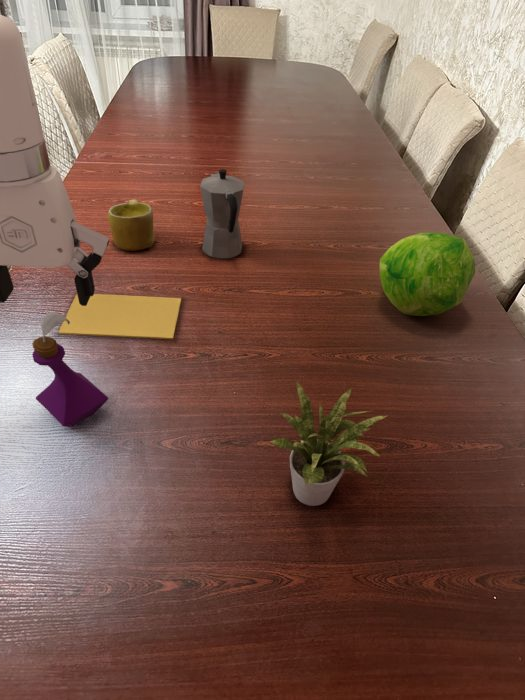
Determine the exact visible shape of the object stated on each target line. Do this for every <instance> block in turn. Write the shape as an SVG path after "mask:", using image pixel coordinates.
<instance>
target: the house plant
mask: <svg viewBox="0 0 525 700" xmlns="http://www.w3.org/2000/svg"><path fill="white" fill-rule="evenodd" d="M295 384H296V390H297V396H298V403H299V407H300V414H301V415H300V416H301V417H300V416H298V415H296V414H295V415H294V417H292V416H291V415H289V414H288V413H285V412H282V411H278V413H279V414H280V415H281V416H282V417H283V418H285V419H286V421H287V422H288V424H289V425H290V426H291V427H292V428H293V429H294V430H295V431H296V432H297V434H298V436H299V438H300V441H294V440H291V439H289V438H286V437H278V438H275V439H273V440H270V441H269V443H271V445H273V446H275V447H277V448H278V449H279V448H280V449H284V450H289V451H290V454H289V468H290V475H291V484H292V490H293V495H294V496H295V498H296V500H298V501H299V502H300V503H302V504H304V505H306V506H311V507H316V506H321V505H323V504H324V503H326V502H327V501H328V500H329V498H330V496H331V495H332V493H333V491H334V489H335V488H336V486H337V484H338V483H339V482H340V479H341V478H342V476H343V474H344V472H345V470H349V471H354V472H358V473H359V474H361V475H363V476H365V477H367V478H369V476H368V474H367V473H368V470H367V467H366V464H365V462H364V461H363V459H362V458H360V457H359V456H356V455H354V454H350V453H342V452H341V450H343V449H346V448H347V449H348V448H349V449H351V448H352V449H356V450H362V451H367V452H369V453H371V454H372V455H374V456H376V457H377V456H378V457H380V458H382V456H381V455H380V454H379V453H378V452H377V451H376V450H374V449H373V448H372V447H370V446H369V445H368V444H366V443H363V442H360V441H358V440H359V439H360V438H361V437H362V436H364V433H363V432H367V431H369V430H371V429H372V428H371V427H372V426H373V427H374V426H376V425H378V424H379V422H378V421H381V420H383V419H386V418H387V417H388V416H390V414H385V415H384V414H383V415H377V416H376V415H375V416H373V417H372V416H371V417H369V418H367V419H364V420H362V421H360V422H358V423H356V422H354V421H352V420H351V419H343V418H344V417H347V416H353V415H354V416H355V415H358V414H359V415H360V414H364V413H369V412H373V411H374V410H365V411H352V412H347V413H346V411H347V403H348V400H349V398H350V396H351V393H352V389H353V387H351V388H349V389H347V390H346V391H345V392H344V393H342V395H341V396H339V398H338V400H337V401H336V402H335V404H334V406H333V407H332V409H331V410H330V412H329V413H328V414H327V416H325V413H324V409H323V406H322V403H321V401H320V400H319V402H318V430H317V431H318V433H317V432H316V429H315V420H314V419H315V418H314V413H313V406H312V401H311V400H310V398H309V397H308V396H307V394H306V392H305V390H304V388H303V387H302V385H301V384H300V383H299V382H298V380H295ZM377 422H378V423H377ZM336 436H337V437H336ZM346 462H347V463H346Z"/></svg>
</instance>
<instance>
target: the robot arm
mask: <svg viewBox="0 0 525 700" xmlns="http://www.w3.org/2000/svg"><path fill="white" fill-rule="evenodd" d="M81 242H82V243H84V244H87V245H89V246H91V247H92V252H90V253H89V254H88V253H86V251H84V250H83V249H82V248H81V247H80V246H81ZM109 243H110V238H109V237H108V236H106V235H105V234H102V233H100V232H98V231H96V230H93V229H92V228H89V227H87V226H86V225H83V224H81V223H80V222H79V223H78V222H77V219H76V215H75V212H74V208H73V205H72V202H71V200H70V196H69V193H68V191H67V188H66V186H65V183H64V180H63V179H62V177H61V175H60V172H59V170H58V168H57V166H54V165H53V166H52V165H51V162H50V158H49V152H48V149H47V144H46V139H45V134H44V129H43V126H42V121H41V116H40V113H39V107H38V102H37V98H36V94H35V89H34V85H33V81H32V76H31V71H30V66H29V62H28V58H27V53H26V48H25V45H24V40H23V36H22V33H21V31H20V29H19V27H18V26H17V24H16V23H15V22H14V20H12V19H10V18H9V17H7V16H5V15H3V14H0V303H6V302H7V300H8V299H9V298H10V296H11V294H12V293H13V292H14V290H15V286H14V283H13V280H12V277H11V273H10V270H9V267H25V268H49V269H50V268H51V269H55V268H56V269H59V268H65V267H68V268H69V269H70V270H71V271H72V272H73V273H75V274H76V275H75V276H74V285H75V290H76V294H77V295H78V299H79V304H80V305H81V306H86V305H87V303H88V301H89V299H90V296H93V295H94V294H95V292H96V287H95V282H94V276H93V271H94V270H95V269H96V268H97V267H98V266H99V265H100V264H101V262H102V260H103V257H104V255H105V253H106V250H107V249H108V246H109Z"/></svg>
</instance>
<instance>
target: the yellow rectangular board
mask: <svg viewBox="0 0 525 700" xmlns="http://www.w3.org/2000/svg"><path fill="white" fill-rule="evenodd" d="M181 304H182V297H166V296H145V295H127V294H108V293H107V294H106V293H94V295H93V296H90V299H89V301H88V303H87V305H86V306H81V305H80V304H79V299H78V295H77V293H75V296H74V298H73V301H72V302H71V305H70V307H69V309H68V310H67V312H66V315H65V317H66V318H67V319H68V320H69V321H70V324H69V325H68V323H67V321H63V322H61V325H60V328H59V329H58V333H57V334H58V335H67V336H68V335H71V336H90V337H111V338H113V337H115V338H135V339H155V340H174V337H175V333H176V327H177V323H178V318H179V312H180V308H181Z"/></svg>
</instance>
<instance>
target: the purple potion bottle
mask: <svg viewBox="0 0 525 700" xmlns="http://www.w3.org/2000/svg"><path fill="white" fill-rule="evenodd" d="M63 321H67V323H68V325H69V324H70V321H69V320H68V319H67V318H66V315H63V314H61V313H59V312H57V311H49V312H48V313H46V314H45V316H44V317H43V319H42V321H41V325H40V326H41V331H42V336H40V337H37V338H35V339H34V340H33V342H32V343H31V344H32V348H33V352H32V354H31V355H32V359H33V362H34V363H35V364H38V365H39V366H47V367H49V368H50V369H51V371H52V372H53V374H54V378H53V380H52V381H51V383H50V384H49V385H48V386H47V387H46V388H44V389H43V391H41V392H40V393H39V394H37V395H36V396H35V400H36V401H37V402H38V403H39V404H40V405H41V406H42V407H43V408H44V409H45V410H46V411H47V412H48V413H49V414H51V416H52V417H53V418H54V419H55V420H56V421H57V422H58V423H59V424H60V425H61V426H62V427H67V428H74V427H76V426H77V425H79V424H81V423H82V422H84V421H86V420H87V419H89V418H91V417H92V416H94V415H96V414H97V413H98V411H99V410H100V409H101V408H102V407H103V406H104V405H105V404H106V403H107V402H108V400H109V396H108V395H106V393H104V392H103V391H102V390H101V389H100V388H98V386H96V385H95V384H94V383H93V382H91V380H89V379H88V378H87V377H86V376H85V375H84V374H82V372H81V373H80V372H77V371H74V370H73V369H72V368H71V367H70V366H69V365H68V364H67V363H66V362H65V361H64V360H63V359H64V357H65V355H66V351H65V348H64V346H63V345H61V344H59V343H58V342H57V340H56V339H55V338H54V337H50V336H47V335H48V334H49V333H50V332H52V331H53V329H54V328H56V327H57V326H58V325H59V324H62V323H63Z"/></svg>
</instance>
